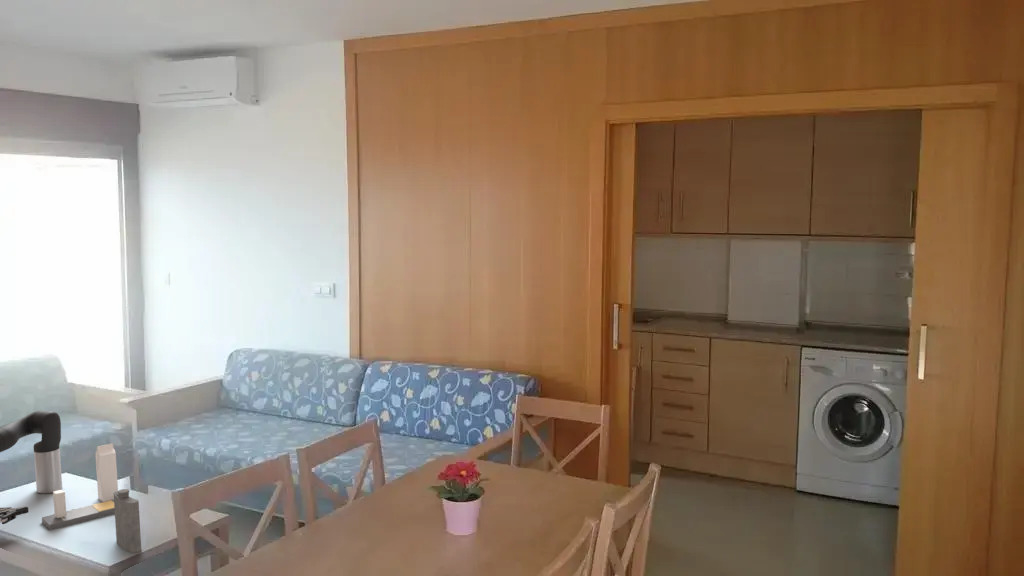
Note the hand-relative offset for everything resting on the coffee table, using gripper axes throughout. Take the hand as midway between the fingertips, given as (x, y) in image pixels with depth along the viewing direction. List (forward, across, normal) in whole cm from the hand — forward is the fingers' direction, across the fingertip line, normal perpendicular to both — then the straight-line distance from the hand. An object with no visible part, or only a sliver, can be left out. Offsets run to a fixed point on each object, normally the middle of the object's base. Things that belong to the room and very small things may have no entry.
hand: (27, 509), depth 291 cm
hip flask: (+20, -40, +8) cm, 46 cm away
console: (+18, 0, +8) cm, 20 cm away
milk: (+31, +14, +8) cm, 35 cm away
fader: (+10, 0, +5) cm, 12 cm away
